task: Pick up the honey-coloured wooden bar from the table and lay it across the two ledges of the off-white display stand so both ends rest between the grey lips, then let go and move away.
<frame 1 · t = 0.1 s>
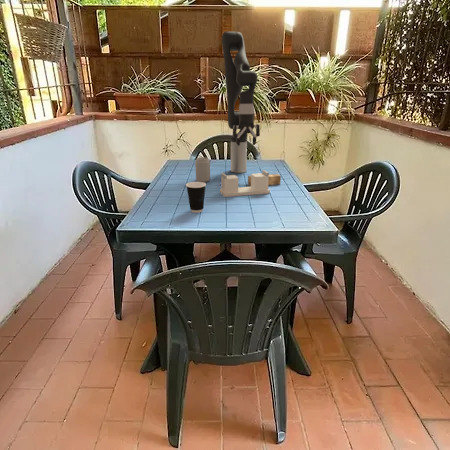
hand: (246, 145, 185), 17 cm above the table, tool pointing down, fingers open, 8 cm apart
bar: (264, 184, 178), on the table
dixie cup: (196, 211, 141), on the table
can: (203, 181, 184), on the table
display stand: (244, 192, 164), on the table
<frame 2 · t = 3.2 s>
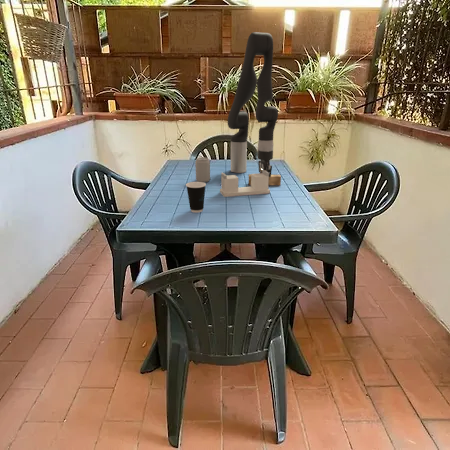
hand: (264, 182, 177), 1 cm above the table, tool pointing down, fingers closed on bar, 4 cm apart
bar: (264, 184, 178), on the table, touching gripper
everything else where it was.
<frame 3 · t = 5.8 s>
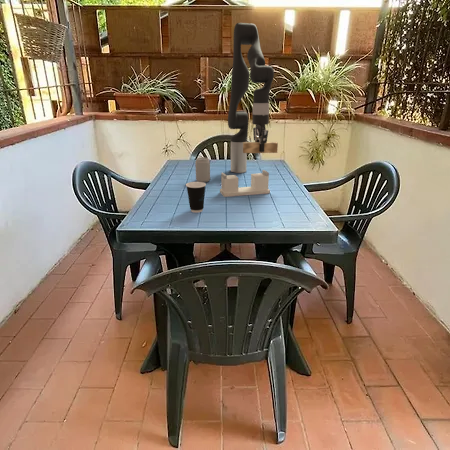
hand: (259, 150, 166), 18 cm above the table, tool pointing down, fingers closed on bar, 4 cm apart
bar: (259, 152, 166), point 17 cm above the table, touching gripper
everything else where it was.
when the fingers open (10 cm above the table, at t = 8.3 s): bar drops 1 cm, resting on display stand.
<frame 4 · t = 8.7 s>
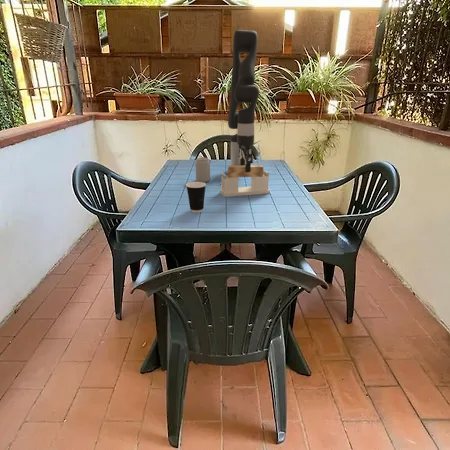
hand: (245, 170, 160), 11 cm above the table, tool pointing down, fingers open, 8 cm apart
bar: (245, 175, 161), point 8 cm above the table, touching display stand
everything else where it was.
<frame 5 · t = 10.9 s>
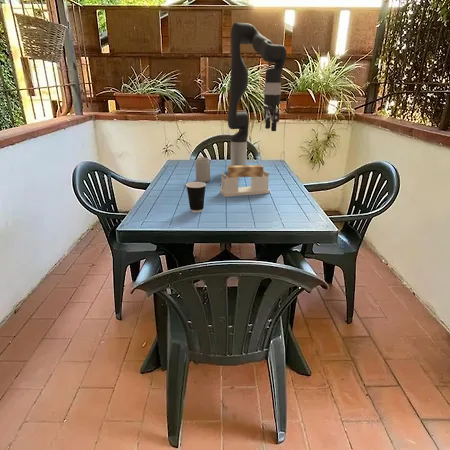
hand: (270, 129, 166), 27 cm above the table, tool pointing down, fingers open, 8 cm apart
nothing on the table moved.
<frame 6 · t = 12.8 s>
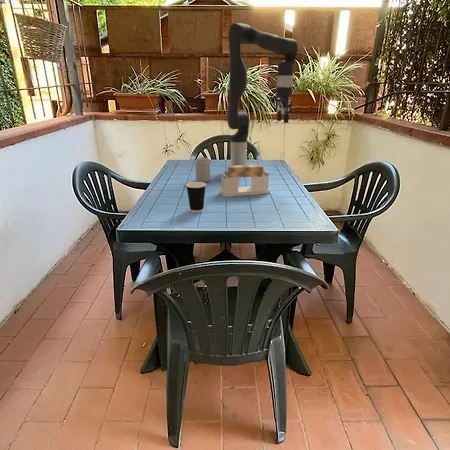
hand: (282, 121, 170), 30 cm above the table, tool pointing down, fingers open, 8 cm apart
nothing on the table moved.
at the end: bar 0.1 cm off-centre on the display stand, point 8.0 cm above the display stand's base; bar tilted 0°; the gripper is holding nothing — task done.
